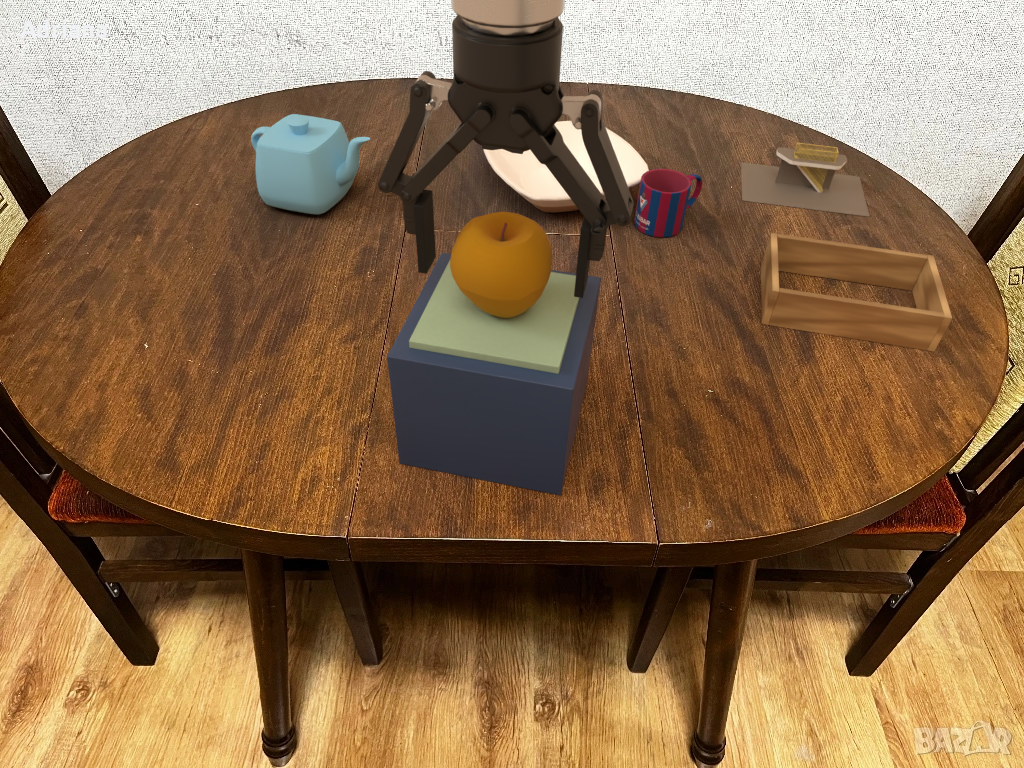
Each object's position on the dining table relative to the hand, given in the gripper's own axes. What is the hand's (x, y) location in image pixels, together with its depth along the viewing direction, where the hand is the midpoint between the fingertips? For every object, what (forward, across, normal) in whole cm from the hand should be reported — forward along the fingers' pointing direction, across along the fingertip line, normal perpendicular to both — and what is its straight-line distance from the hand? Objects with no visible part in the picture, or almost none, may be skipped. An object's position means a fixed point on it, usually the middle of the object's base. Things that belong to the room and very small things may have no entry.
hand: (502, 276), depth 66 cm
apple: (+4, 0, 0) cm, 4 cm away
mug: (+18, -14, -43) cm, 49 cm away
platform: (+18, -33, -58) cm, 69 cm away
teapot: (+18, +35, -36) cm, 54 cm away
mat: (+4, 0, 0) cm, 4 cm away
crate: (+18, 0, 0) cm, 18 cm away
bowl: (+18, +2, -48) cm, 52 cm away
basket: (+18, -36, -30) cm, 50 cm away
